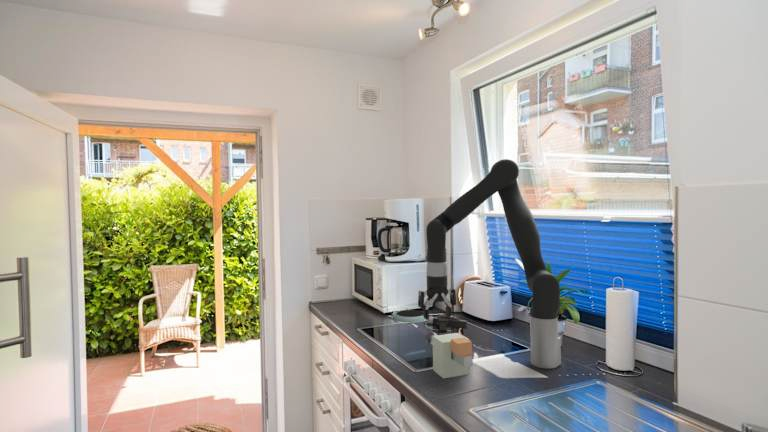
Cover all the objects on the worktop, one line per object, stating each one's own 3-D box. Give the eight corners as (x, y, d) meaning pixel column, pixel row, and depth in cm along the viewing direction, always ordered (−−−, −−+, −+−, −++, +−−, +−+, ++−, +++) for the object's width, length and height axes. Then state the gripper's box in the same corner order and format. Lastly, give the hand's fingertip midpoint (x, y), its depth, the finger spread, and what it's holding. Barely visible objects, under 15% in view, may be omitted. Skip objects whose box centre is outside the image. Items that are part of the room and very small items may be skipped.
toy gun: (457, 329, 191) (469, 318, 203) (415, 322, 201) (429, 312, 214) (457, 340, 191) (469, 328, 204) (415, 332, 202) (429, 321, 215)
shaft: (436, 342, 164) (436, 330, 164) (474, 367, 138) (474, 353, 138) (425, 343, 163) (425, 332, 163) (462, 369, 136) (462, 355, 136)
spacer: (464, 349, 144) (464, 337, 144) (472, 354, 140) (471, 341, 140) (451, 351, 143) (450, 339, 143) (458, 356, 138) (458, 343, 138)
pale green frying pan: (409, 303, 240) (434, 313, 218) (409, 310, 240) (434, 320, 218) (381, 307, 232) (404, 317, 210) (381, 314, 232) (404, 325, 210)
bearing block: (458, 366, 154) (457, 332, 154) (469, 374, 146) (469, 339, 146) (433, 370, 151) (432, 336, 151) (443, 378, 143) (442, 342, 143)
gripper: (423, 276, 152) (423, 322, 152) (459, 274, 156) (459, 318, 156) (414, 273, 159) (415, 317, 159) (449, 271, 163) (450, 314, 164)
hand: (437, 318), depth 158 cm, fingers open, 8 cm apart
